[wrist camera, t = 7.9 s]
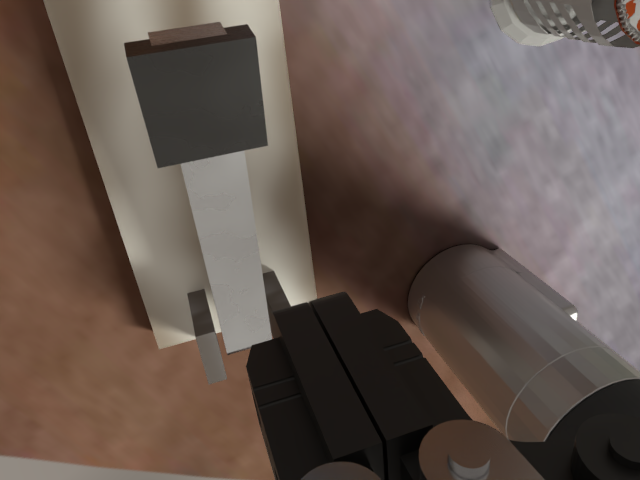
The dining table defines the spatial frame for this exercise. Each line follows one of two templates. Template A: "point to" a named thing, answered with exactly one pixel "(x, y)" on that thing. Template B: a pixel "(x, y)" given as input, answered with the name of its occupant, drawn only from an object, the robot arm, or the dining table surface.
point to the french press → (568, 20)
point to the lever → (211, 154)
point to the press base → (168, 182)
